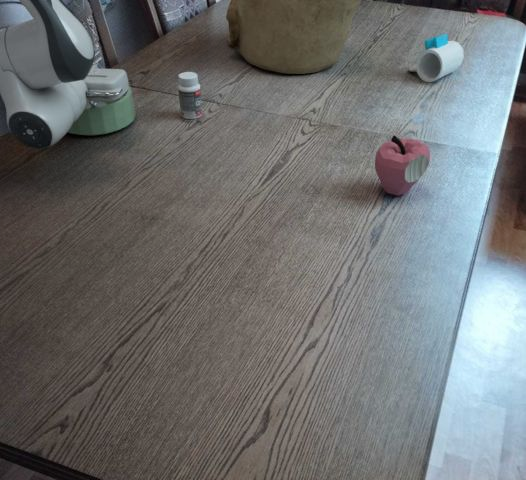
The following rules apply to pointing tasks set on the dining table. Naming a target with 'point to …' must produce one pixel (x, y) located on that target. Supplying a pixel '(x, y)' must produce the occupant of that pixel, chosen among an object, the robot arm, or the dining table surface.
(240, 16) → the ceramic vessel
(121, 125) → the bowl
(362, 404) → the dining table surface
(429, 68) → the mug
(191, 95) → the pill bottle
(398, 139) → the apple
